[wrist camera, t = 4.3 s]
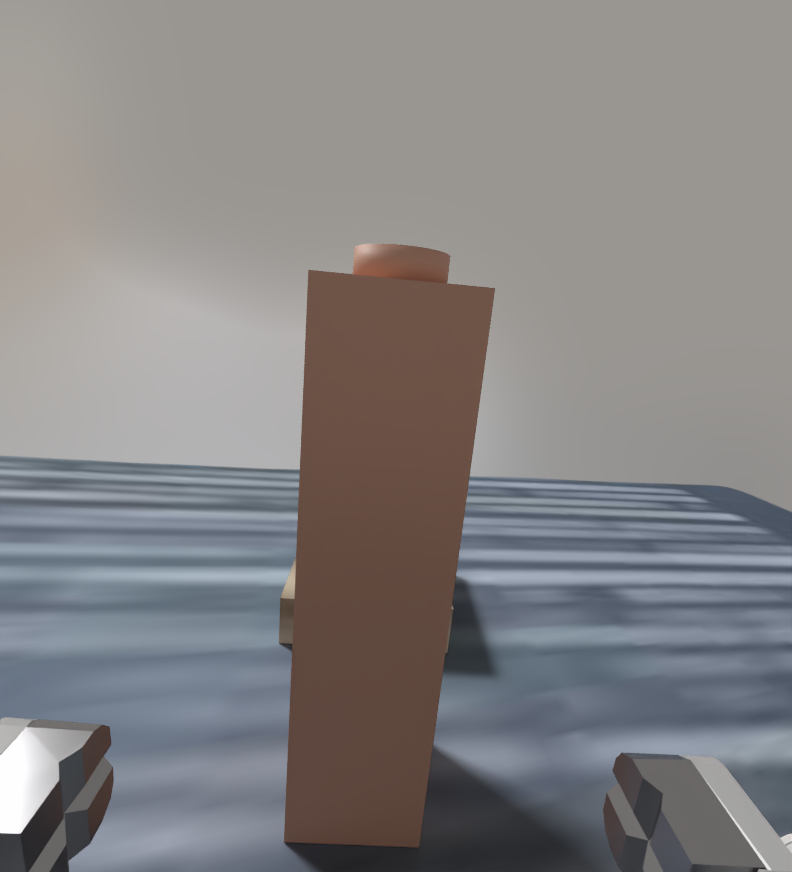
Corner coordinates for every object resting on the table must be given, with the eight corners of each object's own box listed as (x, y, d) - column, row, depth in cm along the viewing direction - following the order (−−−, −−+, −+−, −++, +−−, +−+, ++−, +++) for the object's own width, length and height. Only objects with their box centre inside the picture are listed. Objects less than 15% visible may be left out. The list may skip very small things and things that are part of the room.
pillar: (419, 847, 17) (500, 249, 12) (284, 842, 17) (310, 229, 12) (411, 731, 22) (466, 269, 17) (306, 726, 22) (331, 255, 17)
